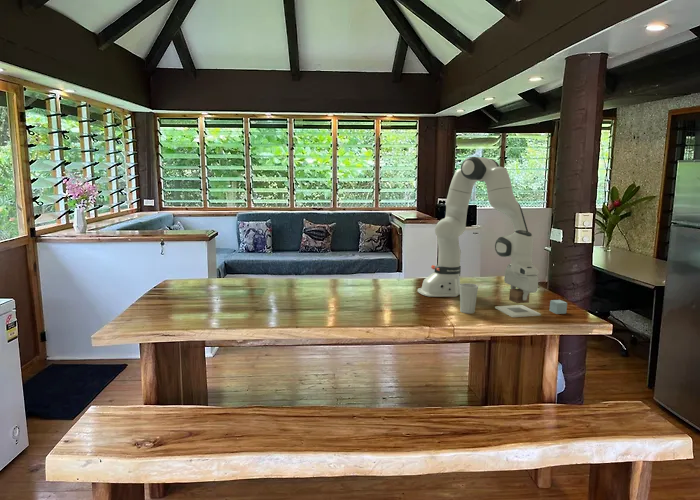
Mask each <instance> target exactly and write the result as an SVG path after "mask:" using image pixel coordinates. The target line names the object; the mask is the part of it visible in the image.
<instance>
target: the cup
mask: <svg viewBox="0 0 700 500" xmlns="http://www.w3.org/2000/svg"><path fill="white" fill-rule="evenodd" d="M478 290H479V285H478V284H475V283H467V282H465V283H460V294H459V304H460V305H459V307H460V309H459V311H460V312H461V313H464V314H474V313H475V311H476V305H477V295H478Z"/></svg>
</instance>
